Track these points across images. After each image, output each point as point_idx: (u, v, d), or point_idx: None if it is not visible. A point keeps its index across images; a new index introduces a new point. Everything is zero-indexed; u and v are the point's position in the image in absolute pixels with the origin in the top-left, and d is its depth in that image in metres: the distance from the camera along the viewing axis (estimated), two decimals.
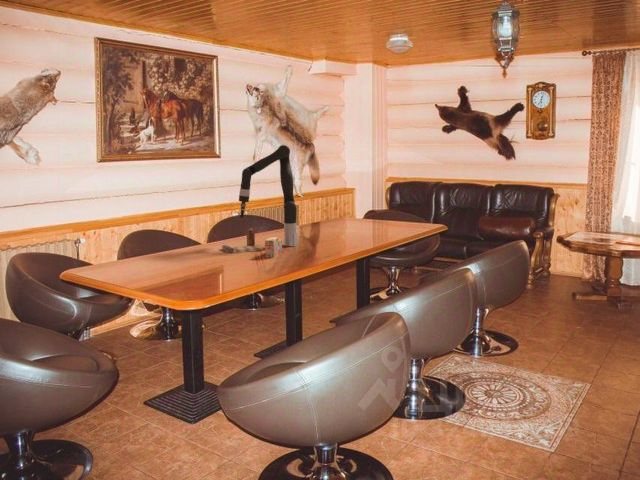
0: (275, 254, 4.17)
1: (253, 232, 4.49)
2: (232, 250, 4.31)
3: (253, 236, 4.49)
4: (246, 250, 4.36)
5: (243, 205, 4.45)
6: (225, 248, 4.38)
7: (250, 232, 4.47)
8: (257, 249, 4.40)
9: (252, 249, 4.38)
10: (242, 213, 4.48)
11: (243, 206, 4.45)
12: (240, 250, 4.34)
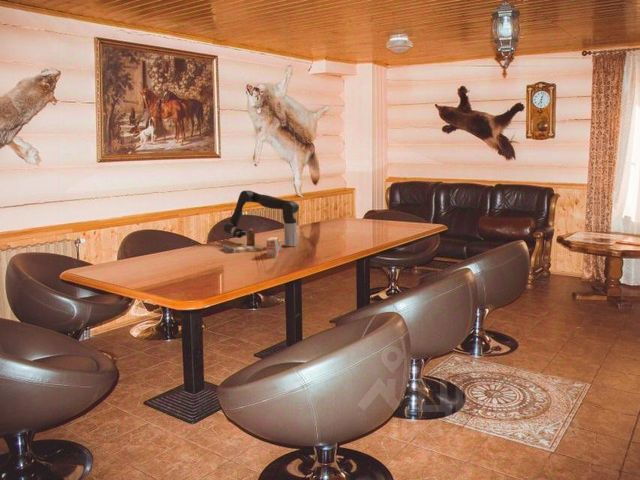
0: (276, 254, 4.17)
1: (253, 232, 4.49)
2: (232, 250, 4.31)
3: (253, 236, 4.49)
4: (246, 250, 4.36)
5: (232, 234, 4.65)
6: (225, 248, 4.38)
7: (250, 232, 4.47)
8: (257, 249, 4.40)
9: (252, 249, 4.38)
10: None
11: (232, 234, 4.64)
12: (240, 250, 4.34)
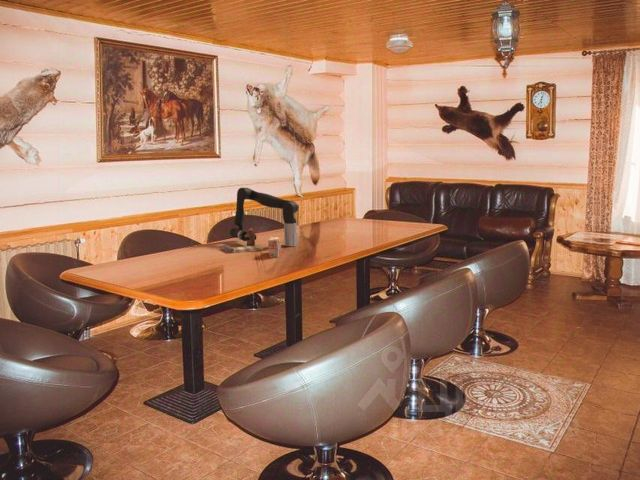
0: (278, 254, 4.18)
1: (253, 232, 4.49)
2: (232, 250, 4.31)
3: (253, 236, 4.49)
4: (246, 250, 4.36)
5: (239, 237, 4.53)
6: (225, 248, 4.38)
7: (250, 232, 4.47)
8: (257, 249, 4.40)
9: (252, 249, 4.38)
10: None
11: (240, 237, 4.52)
12: (240, 250, 4.34)
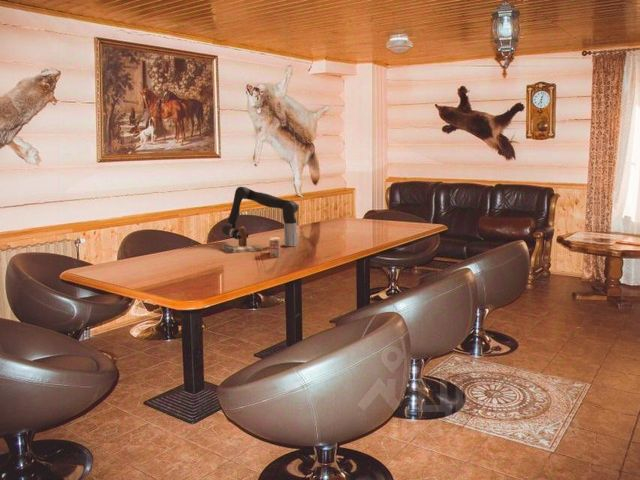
0: None
1: (245, 230, 4.45)
2: (232, 250, 4.31)
3: (245, 234, 4.46)
4: (246, 250, 4.36)
5: (231, 235, 4.50)
6: (225, 248, 4.38)
7: (242, 230, 4.44)
8: (257, 249, 4.40)
9: (252, 249, 4.38)
10: None
11: (231, 235, 4.49)
12: (240, 250, 4.34)
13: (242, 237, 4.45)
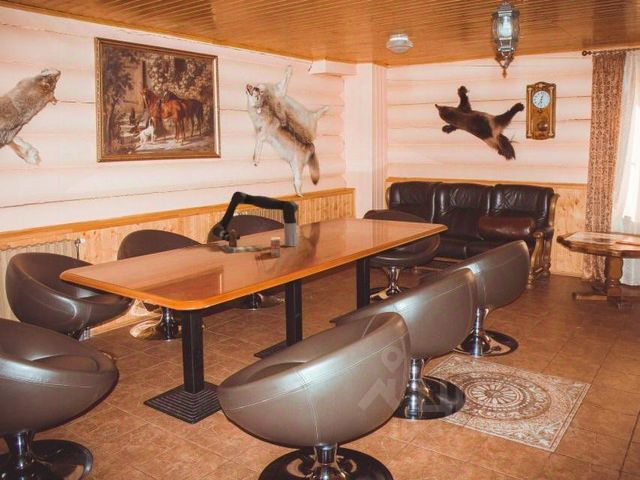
0: None
1: (235, 233, 4.42)
2: (232, 250, 4.31)
3: (235, 237, 4.43)
4: (246, 250, 4.36)
5: (220, 237, 4.47)
6: (225, 248, 4.38)
7: (232, 233, 4.41)
8: (257, 249, 4.40)
9: (252, 249, 4.38)
10: None
11: (220, 237, 4.46)
12: (240, 250, 4.34)
13: (232, 240, 4.42)
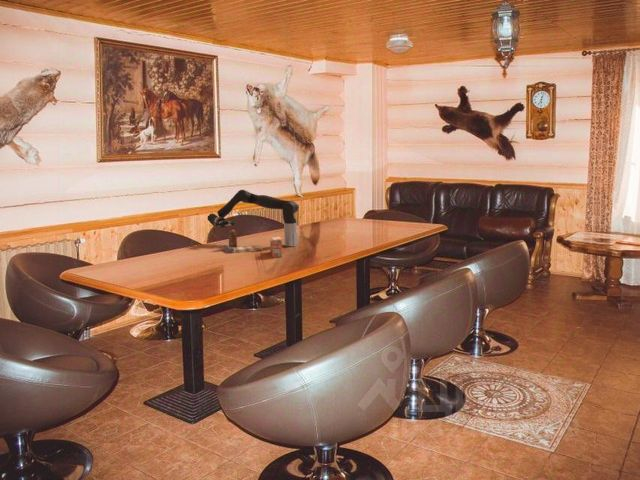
0: None
1: (235, 233, 4.42)
2: (232, 250, 4.31)
3: (235, 237, 4.43)
4: (246, 250, 4.36)
5: (214, 223, 4.57)
6: (225, 248, 4.38)
7: (232, 233, 4.41)
8: (257, 249, 4.40)
9: (252, 249, 4.38)
10: None
11: (214, 223, 4.56)
12: (240, 250, 4.34)
13: (232, 240, 4.42)
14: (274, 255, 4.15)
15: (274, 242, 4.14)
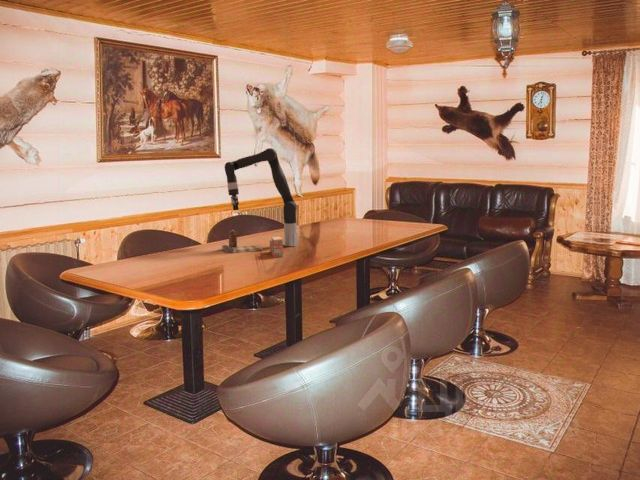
0: None
1: (235, 233, 4.42)
2: (232, 250, 4.31)
3: (235, 237, 4.43)
4: (246, 250, 4.36)
5: (236, 197, 4.49)
6: (225, 248, 4.38)
7: (232, 233, 4.41)
8: (257, 249, 4.40)
9: (252, 249, 4.38)
10: None
11: (236, 198, 4.50)
12: (240, 250, 4.34)
13: (232, 240, 4.42)
14: (275, 255, 4.16)
15: (275, 242, 4.14)
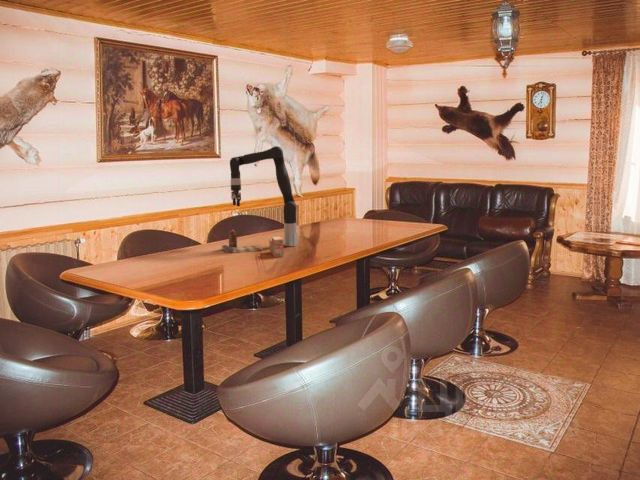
0: None
1: (235, 233, 4.42)
2: (232, 250, 4.31)
3: (235, 237, 4.43)
4: (246, 250, 4.36)
5: (239, 194, 4.50)
6: (225, 248, 4.38)
7: (232, 233, 4.41)
8: (257, 249, 4.40)
9: (252, 249, 4.38)
10: (238, 202, 4.53)
11: (239, 195, 4.50)
12: (240, 250, 4.34)
13: (232, 240, 4.42)
14: (276, 255, 4.16)
15: (276, 242, 4.14)
